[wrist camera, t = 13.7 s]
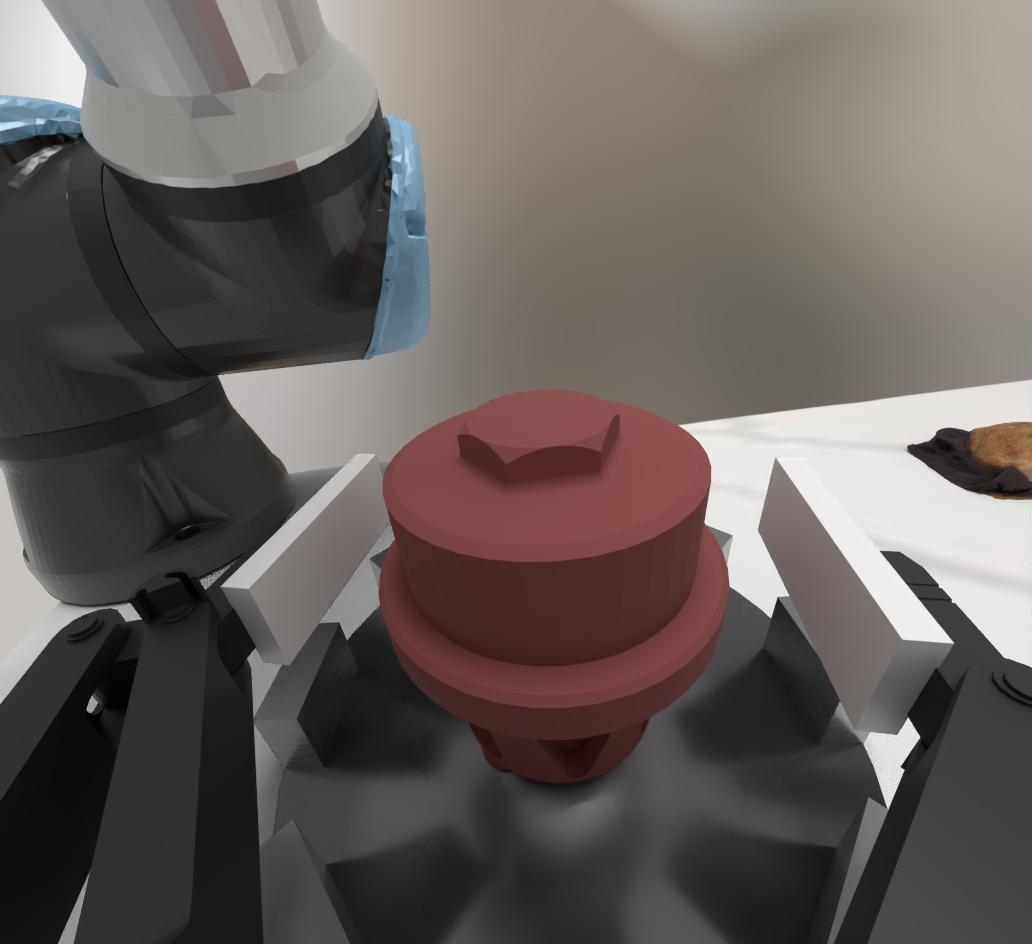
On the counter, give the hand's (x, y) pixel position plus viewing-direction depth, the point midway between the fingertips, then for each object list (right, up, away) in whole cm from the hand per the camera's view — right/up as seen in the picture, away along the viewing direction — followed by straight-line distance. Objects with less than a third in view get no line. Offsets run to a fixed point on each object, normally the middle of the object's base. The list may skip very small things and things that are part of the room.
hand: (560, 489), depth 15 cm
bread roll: (+33, 0, +15) cm, 36 cm away
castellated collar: (0, -9, +3) cm, 9 cm away
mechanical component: (0, -9, +2) cm, 9 cm away
